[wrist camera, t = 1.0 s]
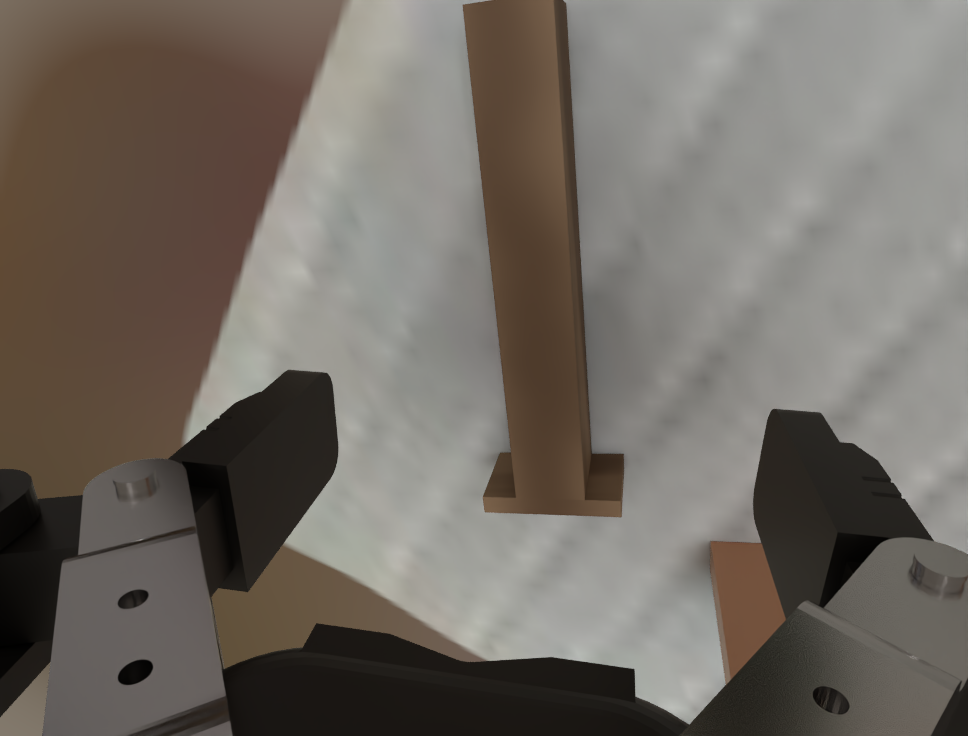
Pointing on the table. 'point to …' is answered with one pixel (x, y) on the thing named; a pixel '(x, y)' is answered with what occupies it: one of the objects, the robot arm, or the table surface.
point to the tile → (743, 601)
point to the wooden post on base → (536, 261)
